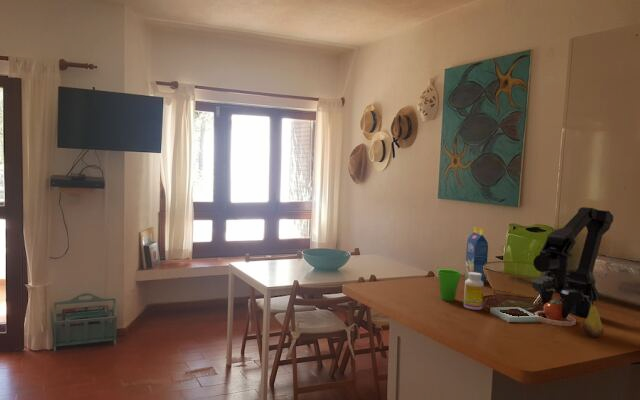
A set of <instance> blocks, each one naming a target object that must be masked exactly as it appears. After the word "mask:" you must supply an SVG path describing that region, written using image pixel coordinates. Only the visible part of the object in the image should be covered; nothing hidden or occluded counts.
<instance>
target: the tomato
mask: <svg viewBox="0 0 640 400" xmlns="http://www.w3.org/2000/svg"><path fill="white" fill-rule="evenodd" d="M558 299H559V298H558V297H554V299H551V300H550V302H547V303H546V304H545V305H544V307H543V311H544V313H545V315H544V316H545V317H546V318H547V319H551V320H556V321H564V319H563V318H562V302H561V301H560V300H558Z"/></svg>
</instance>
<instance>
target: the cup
mask: <svg viewBox="0 0 640 400" xmlns="http://www.w3.org/2000/svg"><path fill="white" fill-rule="evenodd" d="M437 273H438V281H439V282H438V283H439V291H440V298H441V300H443V301H445V302H447V301H448V302H453V301H455V300H456V295H457V290H458V286H459V282H460V278H461V274H462V272H461V271H459V270H455V269H449V268H448V269H446V268H440V269H437Z"/></svg>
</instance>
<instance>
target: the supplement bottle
mask: <svg viewBox="0 0 640 400" xmlns="http://www.w3.org/2000/svg"><path fill="white" fill-rule="evenodd" d="M468 277H469V279H465V281H464V291H463V292H464V293H463V307H464V308H466V309H469V310H475V311H480V310H481V309H483V302H484V287H485V285H484V284H485V283H483V281H481V277H482V274H480V273H476V272H469V273H468Z"/></svg>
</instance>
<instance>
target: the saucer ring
mask: <svg viewBox="0 0 640 400" xmlns="http://www.w3.org/2000/svg"><path fill="white" fill-rule="evenodd" d="M540 313H544V310H538V311H535V312H534V313H533V314H535V315H537V316H539V315H538V314H540ZM539 317H540V319H539V322H541V323H544V324H547V325H553V326H557V327H558V326H559V327H572V326H574V325H576V322H577V321H576V318H575V317H574V316H571V315H570V314H569V315H568V316H567V318H566V319H565V320H562V321H556V320H551V319H548V318H547V317H546V318H545V317H543V316H542V315H540V316H539Z"/></svg>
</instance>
